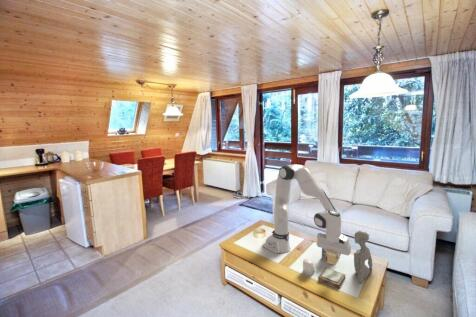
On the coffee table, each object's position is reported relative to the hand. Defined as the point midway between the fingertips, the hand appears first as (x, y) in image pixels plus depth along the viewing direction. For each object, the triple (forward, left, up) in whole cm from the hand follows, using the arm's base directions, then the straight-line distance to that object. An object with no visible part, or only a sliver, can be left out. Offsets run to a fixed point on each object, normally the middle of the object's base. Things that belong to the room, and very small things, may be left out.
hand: (332, 256), depth 153 cm
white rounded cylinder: (-15, -2, -16) cm, 22 cm away
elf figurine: (+13, +17, -16) cm, 27 cm away
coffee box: (-9, +22, -16) cm, 29 cm away
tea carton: (0, 0, -3) cm, 3 cm away
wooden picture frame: (0, 0, -16) cm, 16 cm away
